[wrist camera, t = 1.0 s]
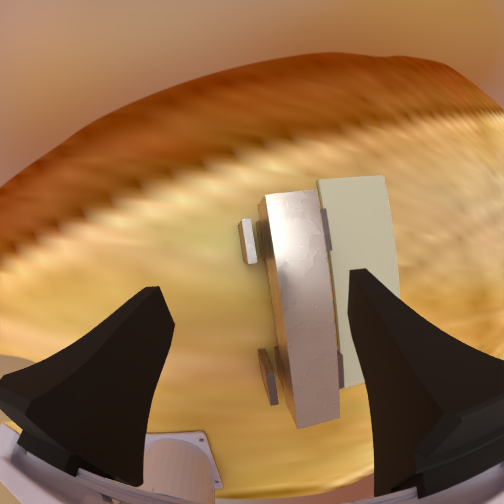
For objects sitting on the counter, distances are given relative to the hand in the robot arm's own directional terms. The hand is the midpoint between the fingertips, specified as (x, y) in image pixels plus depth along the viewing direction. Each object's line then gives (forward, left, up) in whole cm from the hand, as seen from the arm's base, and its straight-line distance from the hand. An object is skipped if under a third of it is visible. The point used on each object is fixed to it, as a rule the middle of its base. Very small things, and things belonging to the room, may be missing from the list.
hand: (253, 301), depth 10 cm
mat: (-3, -12, -14) cm, 18 cm away
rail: (-3, -4, -10) cm, 11 cm away
